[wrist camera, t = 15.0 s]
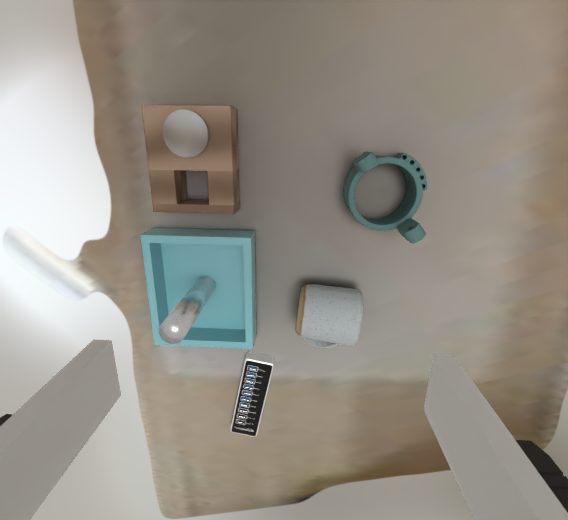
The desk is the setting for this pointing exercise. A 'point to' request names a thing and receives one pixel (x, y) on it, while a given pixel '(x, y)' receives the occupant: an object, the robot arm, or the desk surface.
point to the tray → (190, 267)
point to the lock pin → (187, 311)
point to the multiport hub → (252, 393)
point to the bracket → (410, 203)
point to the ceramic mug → (329, 315)
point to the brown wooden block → (192, 156)
